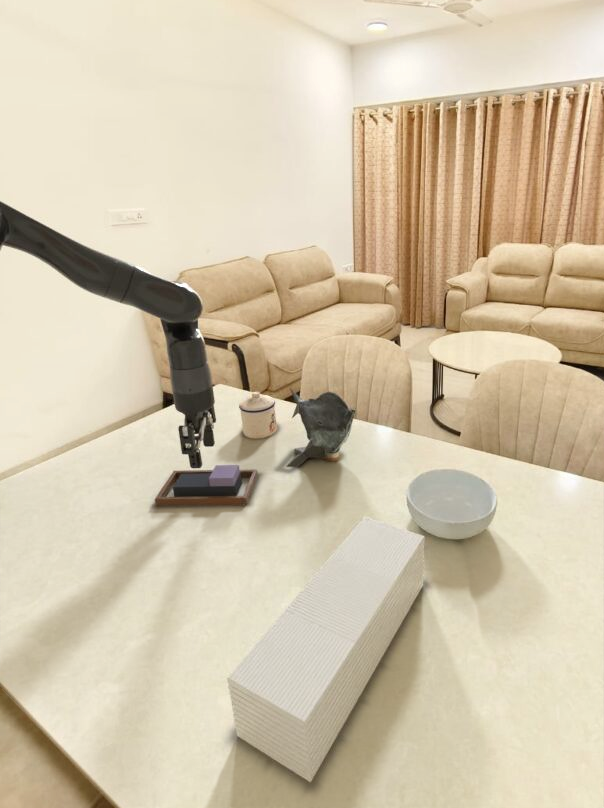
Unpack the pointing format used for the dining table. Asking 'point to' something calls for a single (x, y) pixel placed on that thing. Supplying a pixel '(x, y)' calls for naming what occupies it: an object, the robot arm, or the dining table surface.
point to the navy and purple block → (210, 483)
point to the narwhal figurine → (322, 426)
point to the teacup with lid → (258, 416)
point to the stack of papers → (326, 646)
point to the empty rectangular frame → (204, 500)
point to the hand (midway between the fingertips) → (203, 456)
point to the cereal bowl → (451, 503)
